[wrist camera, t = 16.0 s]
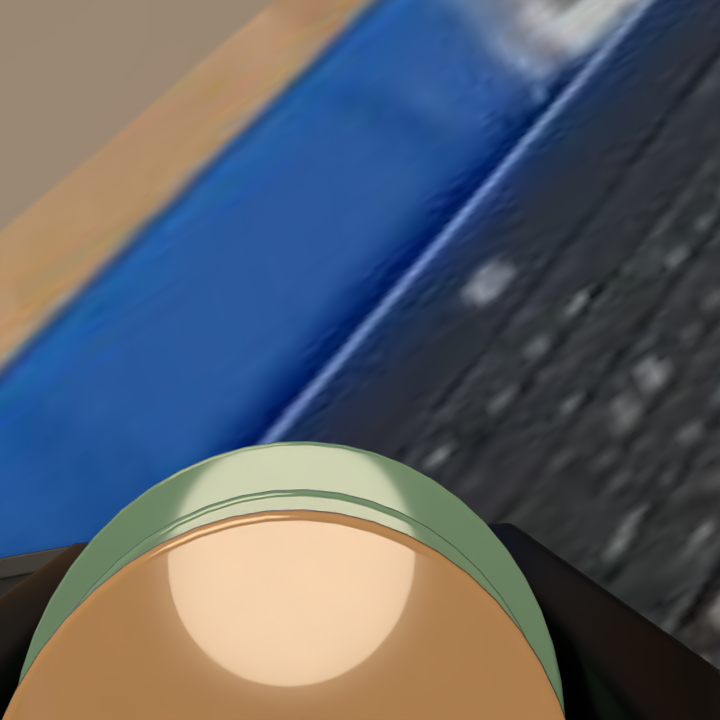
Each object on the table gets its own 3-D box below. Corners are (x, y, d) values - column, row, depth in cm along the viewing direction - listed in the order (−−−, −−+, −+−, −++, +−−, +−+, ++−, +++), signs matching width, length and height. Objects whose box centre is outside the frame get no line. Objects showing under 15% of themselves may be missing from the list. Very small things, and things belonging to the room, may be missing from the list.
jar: (383, 775, 14) (639, 1609, 3) (149, 701, 14) (-409, 1267, 3) (445, 533, 16) (775, 519, 5) (233, 467, 16) (44, 292, 5)
